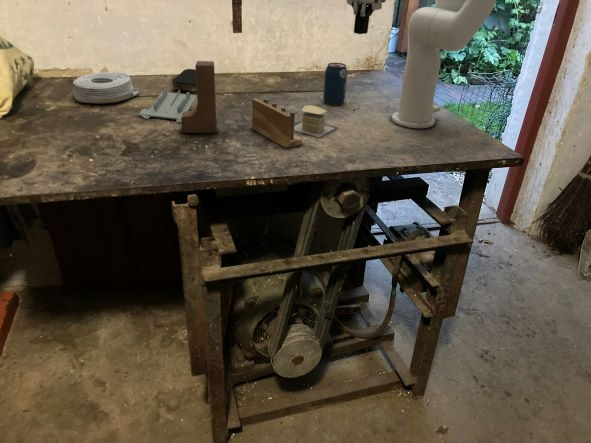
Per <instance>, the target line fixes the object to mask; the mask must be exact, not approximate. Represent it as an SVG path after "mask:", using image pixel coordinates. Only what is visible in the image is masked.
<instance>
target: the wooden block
mask: <svg viewBox="0 0 591 443" xmlns="http://www.w3.org/2000/svg"><path fill="white" fill-rule="evenodd" d="M194 69H195V70H196V84H197V91H196V99H197V100H196V101H197V105H196V106H195V107H194V108H193V109H192V110H188V111H186V112H183V113H182V117H181V122H180V123H181V133H182V134H216V133H217V131H218V130H217V128H218V124H217V122H218V121H217V101H216V100H217V99H216V97H217V96H216V75H215V74H216V73H215V72H216V71H215V62H214V61H213V60H197V61H196V62H195V68H194Z"/></svg>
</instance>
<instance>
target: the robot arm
mask: <svg viewBox="0 0 591 443" xmlns="http://www.w3.org/2000/svg"><path fill="white" fill-rule="evenodd" d="M386 2H387V0H346V4H347V5H349V6H351V8H352V11H353V15H354V25H353V34H357V35H365V34H368V32H369V24H370V17H372V16H373V13H374V12H375V11H379V10H382V8H383V3H386ZM496 2H497V0H434V3H435V7H434V6H425V7H419V8H418V9H416V10H414V12H413V13H412V14H411V16H410V17H409V21H408V24H407V52H406V53H407V54H406V60H405V67H404V73H403V79H402V85H401V91H400V96H399V103H398V111H396V112H394V113H393V114H392V116H391V120H392V122H393V123H395V124H396V125H399V126H402V127H405V128H411V129H428V128H431V127H433V126H434V125H435V122H436V121H435V120H436V119H435V118H434V116H433V114H435V113H438V112H440V111H441V106H440V105H439V104H438V105H437V104H436V105H434V100H435V99H434V98H435V95H436V94H435V93H436V89H437V84H438V79H439V76H440V75H439V74H440V69H441V65H442V64H441V60H442V58H441V53H440V50H444V51H447V52H448V51H449V52H459V51H461V50H462V49H464V48H465V47H466V46H467V45H468V44H469V43H470V41H471V40H472V39H473V38H474V36H475V35H476V33H477V32H478V31H479V30H480V28H481V27H482V26H483V24H484V23H485V22H486V20H487V19H488V18H489V16H490V15H491V14H492V11H493V9H494V8H495V5H496Z"/></svg>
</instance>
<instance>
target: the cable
mask: <svg viewBox="0 0 591 443" xmlns="http://www.w3.org/2000/svg"><path fill="white" fill-rule="evenodd" d="M72 84H73V89H74V91H73V92H74V93H73V94H74V99H75V100H76V101H77V102H80V103H84V104H85V103H86V104H111V103H118V102H122V101H126V100H129V99H131V98H133V97H138V96H139V94H140V88H135V87H134V86H133V83H132V79H131V76H130V75H129V74H127V73H125V72H118V71H116V72H115V71H110V72H109V71H108V72H107V71H106V72H96V73H90V74H84V75H82V76H79V77H77V78H76V79H74V81H73V82H72Z"/></svg>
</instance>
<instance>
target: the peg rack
mask: <svg viewBox="0 0 591 443" xmlns="http://www.w3.org/2000/svg"><path fill="white" fill-rule="evenodd" d="M251 101H252V102H251V106H252V110H251V111H252V112H251V114H252V115H251V116H252V117H251V118H252V120H251V121H252V126H251V128H252V130H254V131H255V132H257V133H259V134H261V135H262V136H263V137H265V138H268V139H269V140H271V141H273V142H274V143H276V144H278V145H280V146H281V147H283V148H284V149H289V148H293V147H297V146H301V145H302V143H303V142H302V141H303V140H302V138H301V137H298V136H297V135H295V130H294V126H295V122H296V119H295V118H296V112H295V111H293V110H292V111H291V110H290V112H289V113H287V112H286V111H287V109H286V106H281V107H280V109H279V108H277V107H278V103H277V102H272V103H271V104H269V98H263V101H262V100H261V99H258V98H255V97H254V98H252V100H251Z"/></svg>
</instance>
